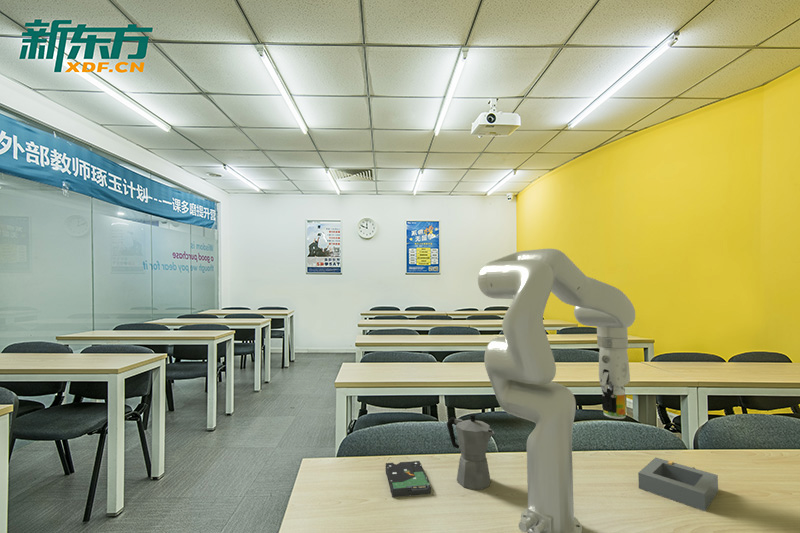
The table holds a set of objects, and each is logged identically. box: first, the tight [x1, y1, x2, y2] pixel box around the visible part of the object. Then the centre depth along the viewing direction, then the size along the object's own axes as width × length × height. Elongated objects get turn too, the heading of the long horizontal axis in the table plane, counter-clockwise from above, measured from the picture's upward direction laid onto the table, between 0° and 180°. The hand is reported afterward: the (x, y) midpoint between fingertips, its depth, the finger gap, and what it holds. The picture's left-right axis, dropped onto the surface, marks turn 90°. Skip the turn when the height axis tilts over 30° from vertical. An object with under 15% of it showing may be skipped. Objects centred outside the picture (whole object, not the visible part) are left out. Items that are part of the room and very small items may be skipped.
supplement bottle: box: [602, 383, 626, 420], centre depth 107 cm, size 5×5×10 cm
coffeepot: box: [446, 413, 496, 491], centre depth 107 cm, size 15×9×18 cm, turn 45°
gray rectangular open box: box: [637, 456, 719, 512], centre depth 104 cm, size 23×14×4 cm, turn 131°
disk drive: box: [385, 460, 432, 498], centre depth 106 cm, size 10×3×15 cm
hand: (614, 408), depth 107 cm, fingers closed on supplement bottle, 5 cm apart
